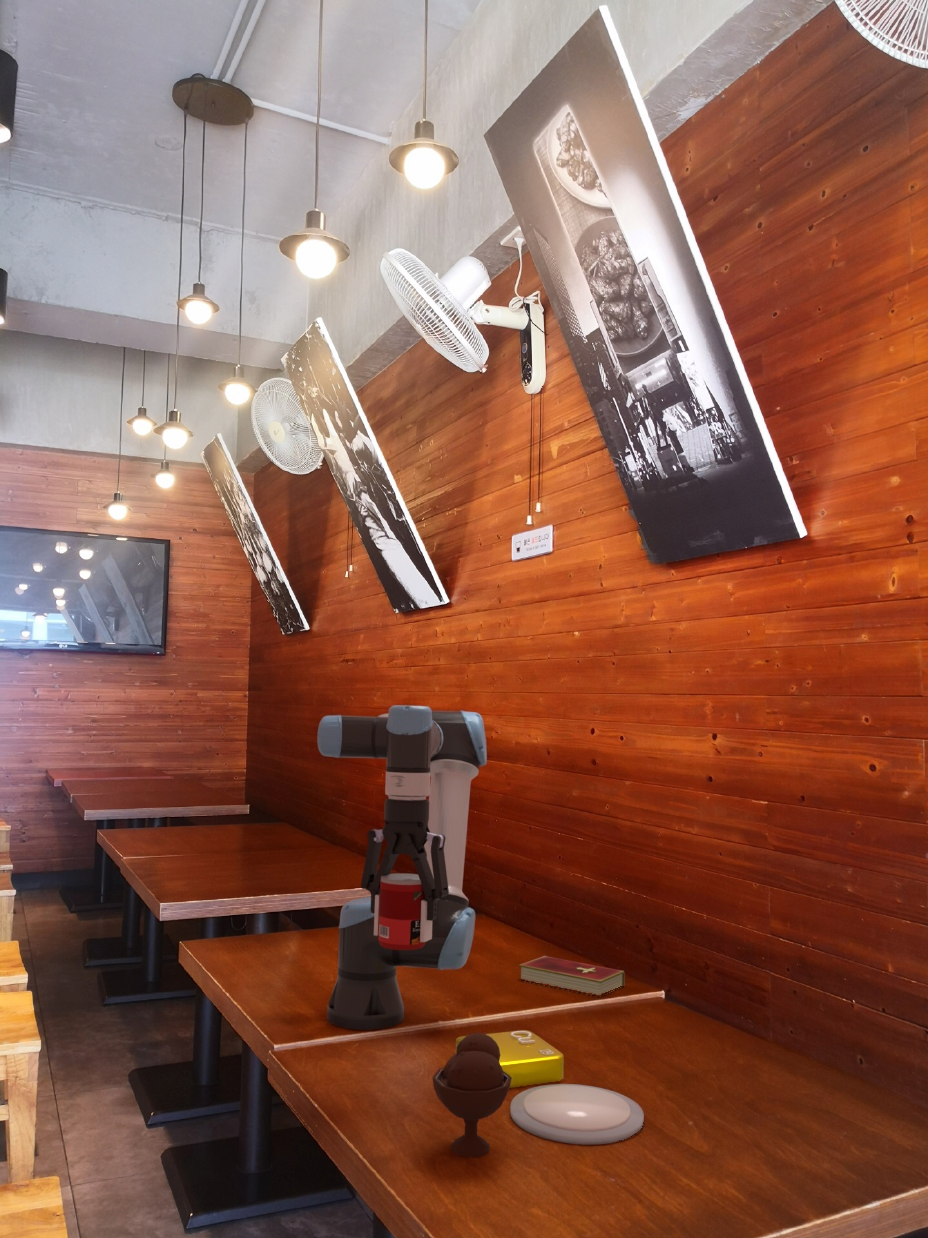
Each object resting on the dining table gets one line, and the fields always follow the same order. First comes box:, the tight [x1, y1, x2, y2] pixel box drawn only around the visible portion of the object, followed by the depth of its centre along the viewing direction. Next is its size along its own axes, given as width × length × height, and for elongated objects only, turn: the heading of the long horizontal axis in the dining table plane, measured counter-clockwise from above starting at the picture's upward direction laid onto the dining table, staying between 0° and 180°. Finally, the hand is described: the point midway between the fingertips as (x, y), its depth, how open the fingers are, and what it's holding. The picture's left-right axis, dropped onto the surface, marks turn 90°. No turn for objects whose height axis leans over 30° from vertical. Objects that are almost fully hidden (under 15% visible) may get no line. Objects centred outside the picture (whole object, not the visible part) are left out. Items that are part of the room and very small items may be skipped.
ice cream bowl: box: [432, 1032, 512, 1158], centre depth 134 cm, size 11×11×15 cm
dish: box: [510, 1083, 645, 1146], centre depth 145 cm, size 20×20×2 cm
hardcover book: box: [518, 955, 626, 995], centre depth 220 cm, size 12×21×4 cm, turn 54°
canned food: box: [379, 872, 426, 950], centre depth 159 cm, size 8×8×11 cm
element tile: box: [455, 1029, 565, 1089], centre depth 164 cm, size 15×15×5 cm
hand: (402, 937), depth 158 cm, fingers closed on canned food, 8 cm apart
